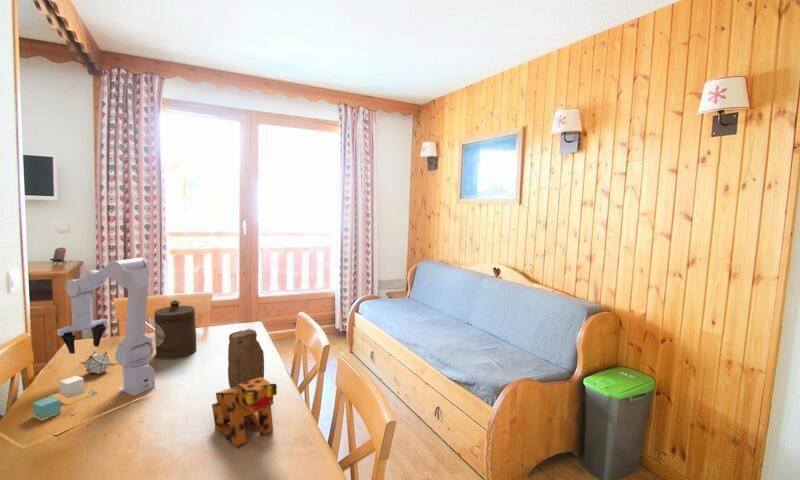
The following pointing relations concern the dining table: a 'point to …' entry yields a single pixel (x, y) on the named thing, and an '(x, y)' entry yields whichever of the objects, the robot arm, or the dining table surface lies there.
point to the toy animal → (244, 409)
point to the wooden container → (175, 331)
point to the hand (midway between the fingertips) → (84, 349)
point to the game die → (97, 363)
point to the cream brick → (72, 386)
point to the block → (244, 357)
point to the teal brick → (46, 407)
